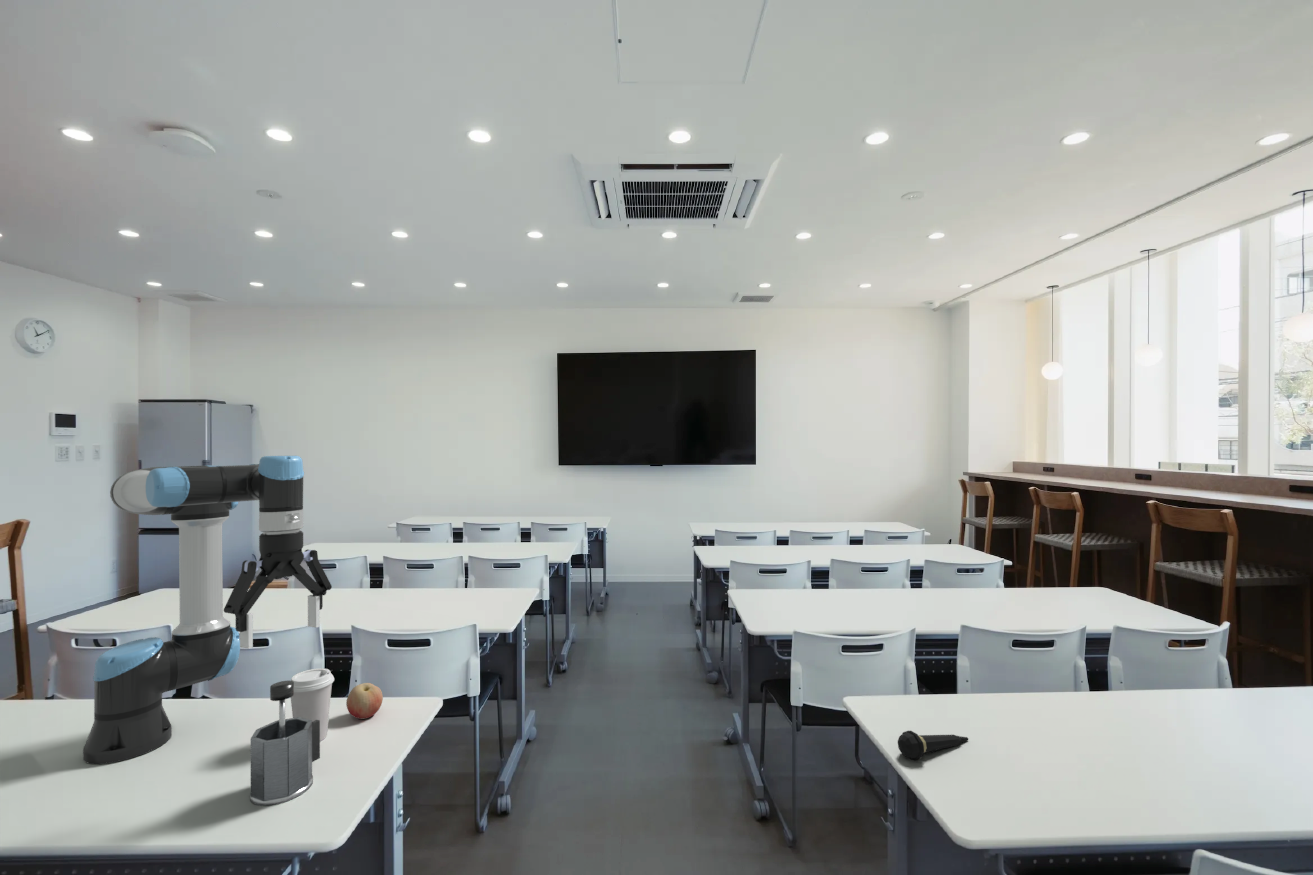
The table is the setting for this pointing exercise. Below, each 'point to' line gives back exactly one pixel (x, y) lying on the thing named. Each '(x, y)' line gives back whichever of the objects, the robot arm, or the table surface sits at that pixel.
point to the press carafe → (283, 760)
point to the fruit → (364, 700)
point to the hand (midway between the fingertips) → (281, 636)
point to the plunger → (281, 700)
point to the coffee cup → (313, 697)
